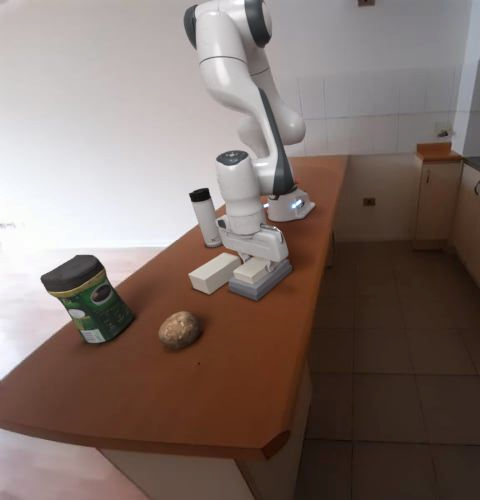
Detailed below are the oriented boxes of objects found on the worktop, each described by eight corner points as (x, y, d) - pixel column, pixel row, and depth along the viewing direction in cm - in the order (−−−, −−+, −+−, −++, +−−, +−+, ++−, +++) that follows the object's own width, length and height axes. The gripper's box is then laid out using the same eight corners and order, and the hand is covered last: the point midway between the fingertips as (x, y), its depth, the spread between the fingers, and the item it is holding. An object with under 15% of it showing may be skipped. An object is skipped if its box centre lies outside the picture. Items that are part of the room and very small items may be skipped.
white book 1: (226, 258, 85) (224, 252, 83) (241, 263, 82) (239, 256, 80) (191, 281, 75) (188, 274, 74) (206, 287, 72) (204, 280, 71)
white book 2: (228, 265, 86) (226, 258, 85) (243, 270, 83) (241, 263, 82) (193, 288, 77) (191, 281, 75) (209, 294, 74) (206, 287, 72)
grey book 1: (263, 258, 84) (262, 253, 83) (290, 264, 80) (289, 259, 80) (229, 285, 73) (227, 280, 73) (257, 294, 70) (256, 288, 69)
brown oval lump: (174, 311, 64) (167, 303, 58) (209, 319, 65) (205, 313, 60) (156, 346, 60) (147, 342, 55) (194, 355, 61) (188, 351, 56)
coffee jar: (112, 314, 69) (72, 250, 60) (140, 315, 68) (104, 250, 59) (77, 345, 61) (24, 276, 52) (109, 346, 60) (61, 277, 51)
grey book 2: (266, 262, 86) (265, 257, 85) (292, 270, 81) (291, 265, 80) (229, 290, 75) (227, 285, 74) (257, 301, 70) (255, 295, 69)
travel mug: (219, 248, 96) (201, 192, 86) (202, 247, 97) (183, 192, 87) (228, 239, 101) (213, 186, 91) (212, 238, 102) (195, 186, 92)
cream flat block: (266, 255, 82) (264, 248, 81) (283, 260, 79) (282, 253, 78) (235, 278, 73) (232, 271, 72) (253, 284, 70) (251, 277, 69)
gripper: (289, 222, 66) (296, 269, 73) (229, 210, 76) (241, 254, 82) (271, 233, 62) (281, 283, 69) (210, 219, 71) (224, 264, 78)
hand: (259, 267), depth 76 cm, fingers closed on cream flat block, 6 cm apart
